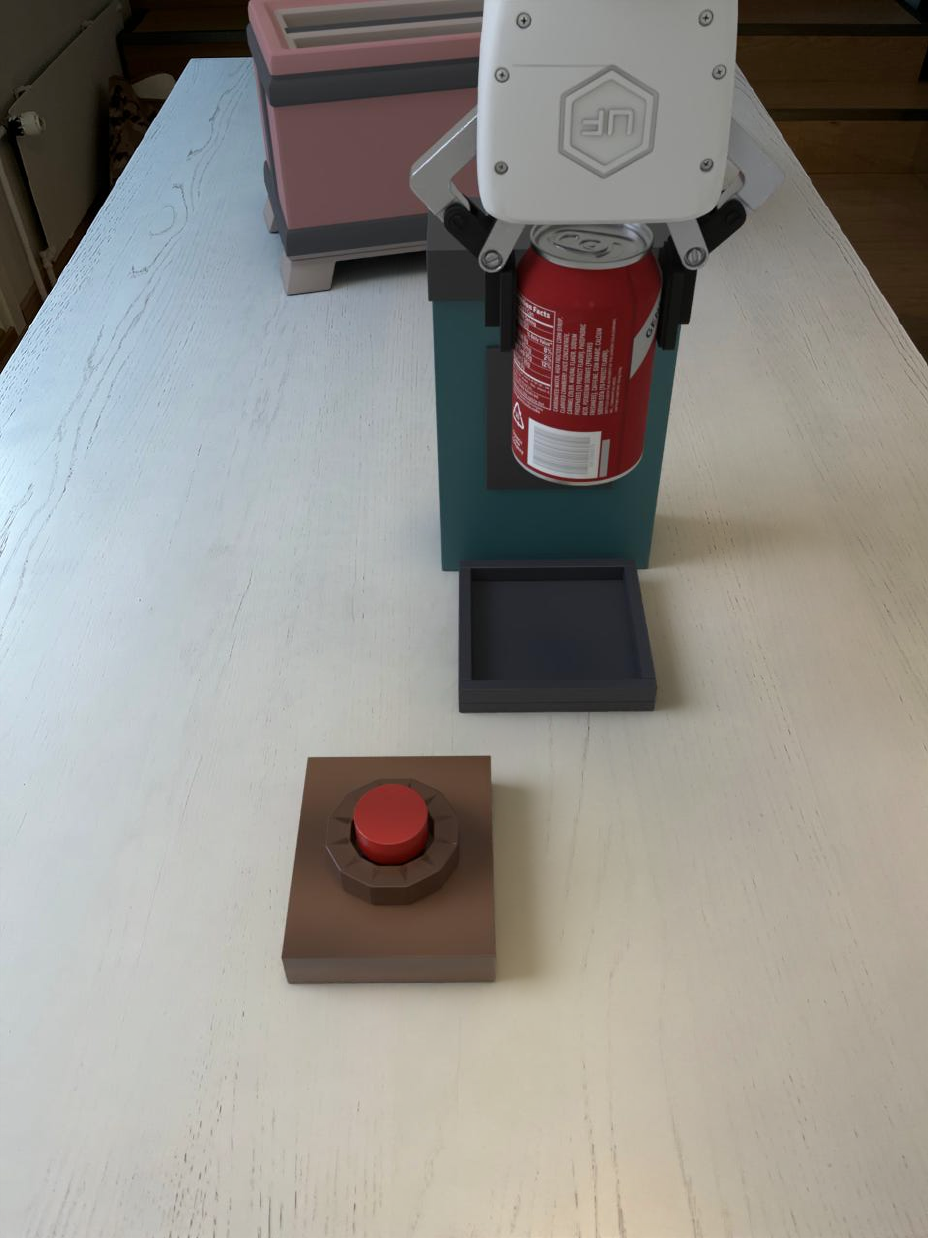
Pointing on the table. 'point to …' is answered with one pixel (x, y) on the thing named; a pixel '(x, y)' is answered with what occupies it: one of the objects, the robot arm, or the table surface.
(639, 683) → the tray
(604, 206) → the robot arm
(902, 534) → the table surface
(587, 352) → the soda can
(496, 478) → the drinks machine
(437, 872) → the switch
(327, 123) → the toaster
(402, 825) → the button
